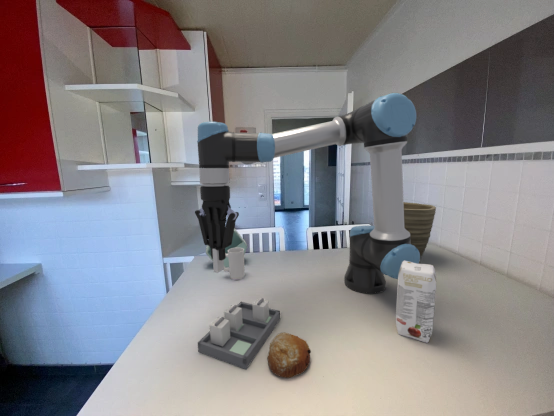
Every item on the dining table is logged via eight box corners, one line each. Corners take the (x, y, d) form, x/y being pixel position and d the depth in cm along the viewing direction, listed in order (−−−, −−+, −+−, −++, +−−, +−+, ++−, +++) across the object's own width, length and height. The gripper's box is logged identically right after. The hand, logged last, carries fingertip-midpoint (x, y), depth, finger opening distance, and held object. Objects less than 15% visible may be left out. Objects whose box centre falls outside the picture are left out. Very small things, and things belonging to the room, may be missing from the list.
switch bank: (280, 318, 71) (280, 310, 71) (246, 369, 53) (245, 359, 53) (241, 308, 77) (240, 301, 77) (198, 351, 59) (197, 342, 59)
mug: (245, 272, 105) (244, 247, 103) (245, 279, 98) (243, 252, 96) (222, 274, 104) (220, 248, 102) (220, 281, 97) (218, 253, 95)
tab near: (230, 337, 62) (229, 318, 61) (222, 346, 59) (221, 326, 58) (219, 334, 63) (217, 315, 62) (210, 342, 60) (209, 322, 59)
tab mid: (242, 324, 67) (241, 306, 66) (235, 331, 64) (234, 312, 63) (232, 321, 69) (231, 303, 68) (225, 328, 65) (223, 309, 65)
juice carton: (431, 346, 59) (438, 275, 56) (393, 334, 63) (397, 268, 60) (431, 329, 65) (436, 264, 62) (396, 319, 70) (400, 258, 67)
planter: (225, 276, 112) (198, 244, 106) (224, 270, 119) (198, 239, 113) (254, 254, 114) (228, 221, 108) (251, 249, 122) (227, 218, 116)
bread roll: (274, 358, 61) (260, 334, 60) (309, 340, 61) (295, 316, 60) (277, 394, 51) (260, 366, 50) (319, 372, 51) (303, 344, 50)
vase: (442, 273, 100) (440, 206, 93) (381, 270, 111) (375, 209, 104) (432, 249, 121) (430, 192, 115) (382, 248, 132) (377, 196, 125)
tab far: (269, 316, 70) (268, 299, 69) (264, 323, 67) (263, 305, 66) (258, 313, 72) (257, 296, 71) (253, 320, 69) (252, 302, 68)
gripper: (244, 184, 62) (246, 269, 66) (205, 183, 67) (209, 262, 71) (227, 186, 55) (230, 280, 59) (185, 185, 61) (190, 271, 64)
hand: (218, 270), depth 65 cm, fingers closed
